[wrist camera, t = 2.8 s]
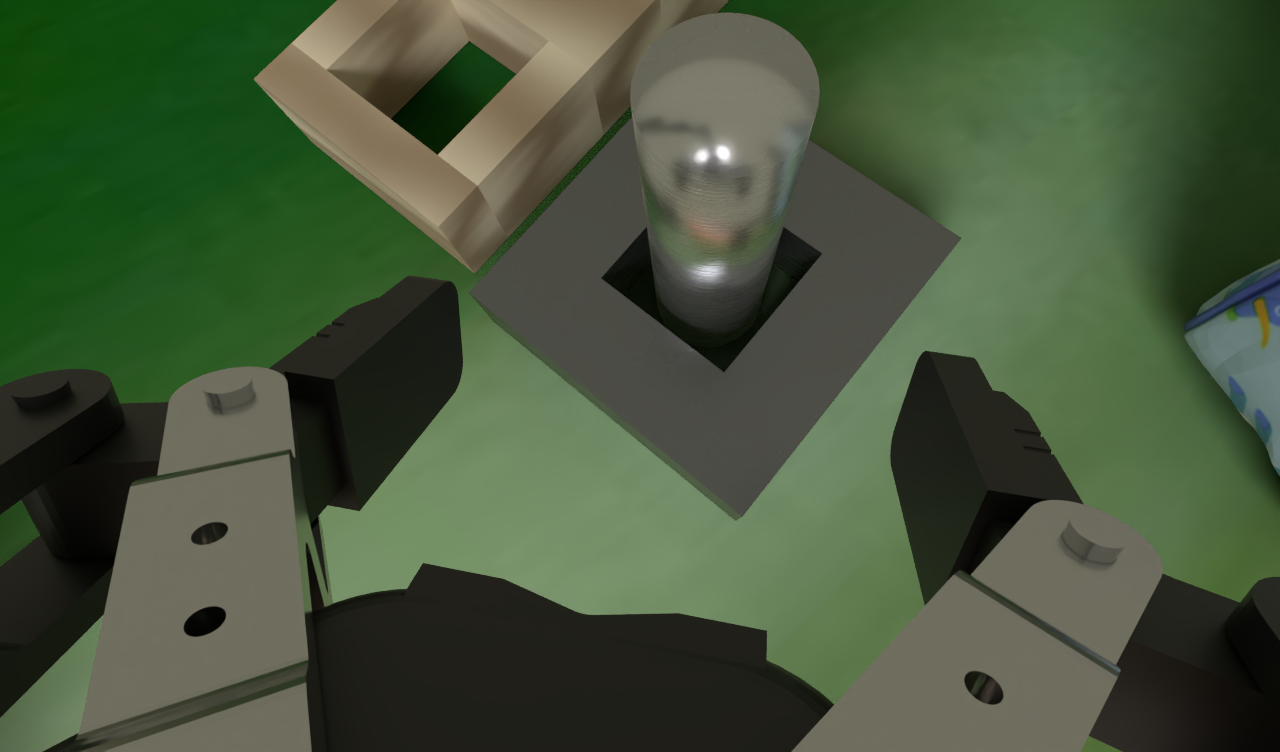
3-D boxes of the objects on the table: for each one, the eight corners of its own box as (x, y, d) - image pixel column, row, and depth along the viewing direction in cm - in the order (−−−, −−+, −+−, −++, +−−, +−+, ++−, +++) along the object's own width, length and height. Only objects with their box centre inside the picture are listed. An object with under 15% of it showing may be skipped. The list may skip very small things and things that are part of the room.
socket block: (493, 321, 26) (468, 292, 23) (685, 110, 28) (685, 59, 25) (735, 520, 23) (742, 516, 20) (930, 273, 25) (961, 238, 22)
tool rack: (474, 273, 27) (438, 226, 23) (312, 142, 29) (253, 79, 25) (777, -52, 30) (790, -142, 26) (609, -149, 32) (598, -245, 28)
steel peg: (635, 306, 26) (591, 107, 14) (700, 232, 26) (708, -17, 15) (716, 368, 25) (740, 210, 13) (781, 290, 25) (858, 73, 14)
